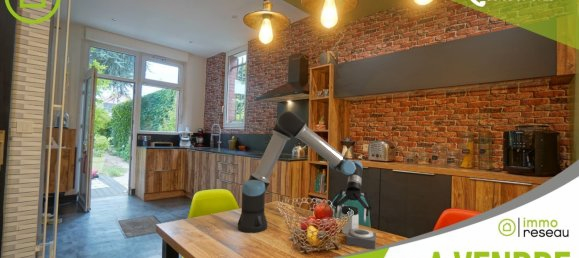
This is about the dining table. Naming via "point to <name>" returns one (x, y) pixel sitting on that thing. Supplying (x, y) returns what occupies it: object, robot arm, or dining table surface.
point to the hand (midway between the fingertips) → (350, 219)
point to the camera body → (361, 238)
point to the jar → (350, 219)
